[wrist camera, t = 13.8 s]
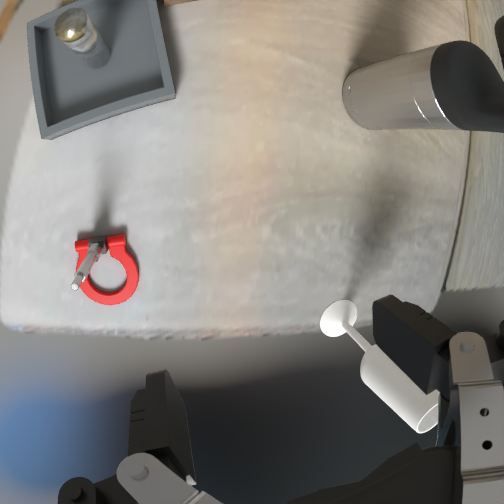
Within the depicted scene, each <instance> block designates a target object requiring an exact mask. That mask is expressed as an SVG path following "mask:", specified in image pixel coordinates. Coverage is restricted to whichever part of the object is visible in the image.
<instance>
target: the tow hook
mask: <svg viewBox="0 0 504 504" xmlns="http://www.w3.org/2000/svg"><path fill="white" fill-rule="evenodd" d="M125 245H126V237H125V234H122V235H114V236H101V237H94V238H92V239H86V240H79V241H75V249H76V252H78V253H79V257H80V258H79V260H78V263H77V267H76V273H75V279H74V281H73V282H72V284H71V288H72V289H73V290H78V288H79V287H80V288H81V289H82V291H83V292H84V293H85V294H86V295H87V296H88V297H89V298H90V299H92V300H94V301H95V302H98V303H101V304H105V305H115V304H120V303H122V302H124V301H126V300H127V299H129V298H130V297H131V296H132V295H133V293H134V292H135V290H136V288H137V284H138V281H139V271H138V267H137V264H136V262H135V260H134V258H133V257H132V256H131V255H130V253H129V252H128V251H127V250H126V246H125ZM108 249H109V250H110V255H111V256H112V257H113V258H115V259H117V260H118V261H120V262H121V263H122V265H123V266H124V268H125V270H126V273H127V281H126V284H125V285H124V287H123V288H122V289H120V290H119V291H117V292H113V293H105V292H102V291H100V290H98V289H97V288H95V287H94V286H93V285H92V283H91V282H90V280H89V277H88V274H89V272H90V270H91V268H92V267H93V265H94V263H95V262H97V261H98V259H99V257H100V255H101V254H106V253H107V251H108Z"/></svg>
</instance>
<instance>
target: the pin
mask: <svg viewBox="0 0 504 504" xmlns="http://www.w3.org/2000/svg"><path fill="white" fill-rule="evenodd" d="M54 33H55V35H56V36H57V37H58V38H59V39H60V40H61V41H62V42H63V43H65V44H66V45H67V46H68V47H69V48H70V49H71V50H72V51H73V52H74V53H75V54H76V55H77V56H78V57H79V58H80V59H81V60H82V61H83V62H84V63H85V64H86V65H87V66H89V67H90V68H92V69H99V68H102V67H103V66H105V65H106V64H107V63H108V61H109V60H110V57H111V52H110V50H109V48H108V46H107V45H106V43H105V42H104V40H103V38H102V37H101V35H100V34H99V32H98V30H97V29H96V27H95V26H94V24H93V22H92V21H91V19H90V18H89V16H88V14H87V13H86V11H85V10H83V9H82V8H71V9H68V10H66V11H64V12H63V13H62V14H61V15H60V16H59V17H58V18H57V20H56V21H55V24H54Z"/></svg>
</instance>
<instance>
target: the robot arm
mask: <svg viewBox="0 0 504 504" xmlns="http://www.w3.org/2000/svg"><path fill="white" fill-rule="evenodd" d="M495 35H496V40H497V44H498V48H499V52H500V56H501V58H502V59H501V60H502V64H503V68H504V16H502V17H501V18H499V19H498V20H497V22H496V24H495ZM343 102H344V105H345V108H346V110H347V112H348V114H349V115H350V116H351V118H352V119H353V120H354V121H355V122H356V123H357V124H359V125H360V126H362V127H364V128H367V129H372V130H382V129H443V130H447V129H448V130H469V131H489V132H500V133H504V82H503V80H502V78H501V77H500V75H499V73H498V71H497V69H496V68H495V66H494V64H493V63H492V61H491V60H490V58H489V57H488V56H487V55H486V53H485V52H484V51H483V50H481V49H480V48H479V47H478V46H476V45H475V44H473V43H471V42H468V41H453V42H449V43H444V44H440V45H436V46H432V47H428V48H425V49H421V50H418V51H414V52H410V53H407V54H403V55H400V56H397V57H393V58H390V59H387V60H384V61H381V62H377V63H374V64H371V65H368V66H365V67H362V68H359V69H356V70H355V71H353V72H351V73H350V74H349V75H348V76H347V78H346V80H345V82H344V86H343ZM372 309H373V336H374V340H375V342H376V344H377V346H378V347H379V348H380V349H381V350H382V351H383V352H384V353H385V354H386V355H387V356H388V357H389V358H390V359H391V360H392V361H393V362H394V363H395V364H396V365H397V366H398V367H399V368H400V369H401V370H402V371H403V372H404V373H405V374H406V375H407V376H408V377H409V378H410V379H411V380H412V381H413V382H414V383H415V384H416V385H417V386H418V387H419V388H420V389H421V390H422V391H423V392H424V393H425V394H426V395H428V394H429V393H431V392H433V391H434V390H436V389H437V390H438V391H439V396H438V438H437V443H436V446H435V447H429V448H425V449H421V447H420V446H419V445H418V444H417V443H415V444H413V445H411V446H410V447H408V448H407V449H405V450H403V451H401V452H399V453H398V454H396V455H394V456H392V457H390V458H388V459H387V460H386V461H385V462H384V463H382V464H381V465H380V466H379V467H378V468H376V469H375V470H374V471H373V472H372V473H370V474H369V475H368V476H367V477H365V478H364V479H363V480H361V481H359V482H355V483H351V484H346V485H341V486H336V487H331V488H326V489H321V490H318V491H316V492H313V493H311V494H308V495H305V496H302V497H299V498H297V499H294V500H291V501H288V502H287V503H288V504H504V320H503V321H502V322H501V323H500V325H499V329H498V333H497V334H494V335H491V336H488V337H484V338H482V337H481V336H480V335H478V334H475V333H472V332H461V333H458V334H457V333H456V332H454V331H453V330H451V329H450V328H449V327H447V326H446V325H445V324H443V323H442V322H440V321H439V320H438V319H436V318H433V316H432V315H430V314H429V313H428V312H427V313H426V311H425V310H423V309H422V308H421V307H419V306H418V305H415V304H412V303H409V302H406V301H405V302H402V301H400V300H399V299H398V298H396V297H395V296H393V295H388V296H386V297H383V298H381V299H378V300H376V301H374V302H373V306H372ZM130 412H131V415H130V427H129V450H128V457H127V458H125V459H124V460H123V461H122V462H121V463H120V465H119V467H118V469H117V474H116V475H114V476H112V477H110V478H107V479H105V480H102V481H100V482H97V483H95V484H93V483H92V482H91V481H90V480H88V479H86V478H84V477H76V478H72V479H70V480H68V481H67V482H65V483H64V484H63V486H62V487H61V489H60V491H59V495H58V504H222V503H220V502H219V501H217V500H216V499H214V498H213V497H211V496H210V495H208V494H207V493H205V492H203V491H200V492H199V491H197V490H196V489H194V488H193V487H192V486H190V485H195V484H196V478H195V472H194V466H193V459H192V452H191V445H190V438H189V431H188V423H187V416H186V410H185V406H184V404H183V401H182V399H181V396H180V395H179V393H178V390H177V389H176V386H175V384H174V383H173V380H172V378H171V376H170V374H169V372H168V371H167V370H166V369H165V370H162V371H157V372H154V373H149V374H147V375H146V389H142V390H138V391H137V392H136V394H135V396H134V397H133V399H132V401H131V411H130Z"/></svg>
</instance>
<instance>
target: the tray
mask: <svg viewBox="0 0 504 504" xmlns="http://www.w3.org/2000/svg"><path fill="white" fill-rule="evenodd" d="M71 8H82V9H83V10H85V11H86V13H87V14H88V16H89V18H90V19H91V21H92V22H93V24H94V26H95V27H96V29H97V30H98V32H99V34H100V35H101V37H102V38H103V40H104V42H105V43H106V45H107V46H108V48H109V50H110V52H111V57H110V60H109V61H108V63H107V64H106V65H105V66H103V67H102V68H99V69H92V68H90V67H89V66H87V65H86V64H85V63H84V62H83V61H82V60H81V59H80V58H79V57H78V56H77V55H76V54H75V53H74V52H73V51H72V50H71V49H70V48H69V47H68V46H67V45H66V44H65V43H63V42H62V41H61V40H60V39H59V38H58V37H57V36H56V35H55V33H54V24H55V21H56V20H57V18H58V17H59V16H60V15H61V14H62V13H63V12H64V11H66V10H68V9H71ZM27 36H28V37H27V38H28V51H29V62H30V71H31V80H32V87H33V94H34V101H35V107H36V113H37V118H38V124H39V129H40V134H41V139H51V140H52V139H55V138H57V137H59V136H62V135H64V134H67V133H69V132H72V131H74V130H77V129H80V128H82V127H85V126H88V125H90V124H93V123H96V122H99V121H102V120H104V119H107V118H110V117H113V116H116V115H119V114H122V113H126V112H129V111H132V110H135V109H139V108H142V107H145V106H149V105H153V104H156V103H160V102H163V101H167V100H171V99H175V89H174V85H173V80H172V76H171V71H170V67H169V62H168V57H167V53H166V48H165V43H164V38H163V33H162V28H161V23H160V18H159V13H158V8H157V3H156V0H78V1H76V2H73V3H71V4H68V5H66V6H63V7H61V8H58V9H56V10H54V11H52V12H49V13H47V14H45V15H42V16H40V17H38V18H36V19H34V20H32V21H30V22H28V23H27Z"/></svg>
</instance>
